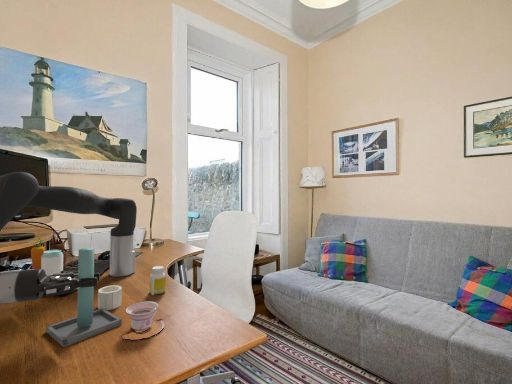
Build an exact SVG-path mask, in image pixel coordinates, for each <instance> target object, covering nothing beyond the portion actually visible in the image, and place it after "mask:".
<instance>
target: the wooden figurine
mask: <svg viewBox="0 0 512 384" xmlns="http://www.w3.org/2000/svg"><path fill="white" fill-rule="evenodd" d="M50 250H61V252H62V253H63V268H64V267H65V266H66V263H67V259H68V254H67V252H66V251H65V244H64V242H63V239H61V238H59V237H58V236H57V237H56V238H55V236H54V235H53V236H52V245H51V249H50Z"/></svg>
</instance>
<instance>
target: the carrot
mask: <svg viewBox="0 0 512 384" xmlns="http://www.w3.org/2000/svg"><path fill="white" fill-rule="evenodd" d="M38 239H39V240H40V243H39V244H36V245H35V246H34V247H32V248H31V250H30V257H31V264H32V267H33V269H41V256H42V255H43V254H44V251H47V250H46V247H45V246H42V245H41V244H42V243H43V239H42V238H41V237H38ZM38 239H37V240H36V239H35V241H37V242H38V241H39V240H38Z"/></svg>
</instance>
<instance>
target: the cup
mask: <svg viewBox="0 0 512 384" xmlns="http://www.w3.org/2000/svg"><path fill="white" fill-rule="evenodd" d="M122 290H123V288H122V286H121V285H117V284H116V285H115V284H112V285H107V286H106V285H105V286H104V287H101V288H99V289H98V290H97V310H99V309H102V308H103V309H105V310H106V311H110V310H114V309H117V308H119V307H120V306H122V302H123V301H122V300H123V299H122V296H123V295H122V292H123V291H122Z"/></svg>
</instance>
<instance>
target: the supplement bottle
mask: <svg viewBox="0 0 512 384" xmlns="http://www.w3.org/2000/svg"><path fill="white" fill-rule="evenodd" d="M164 270H165V267H164V266H162V265H161V266H160V265H155V266H153V267H152V268H151V273H150V275H149V294H150V295H151V296H160V295H163V294H165V293H166V278H167V277H166V273H165V272H164Z"/></svg>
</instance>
